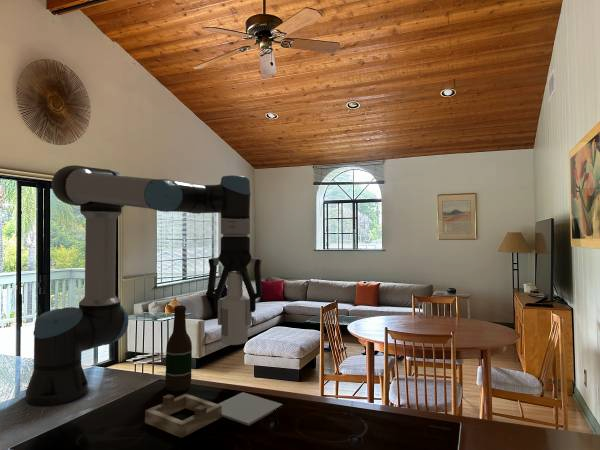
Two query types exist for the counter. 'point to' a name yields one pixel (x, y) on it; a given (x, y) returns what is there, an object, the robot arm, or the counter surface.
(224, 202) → the robot arm
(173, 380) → the beer bottle
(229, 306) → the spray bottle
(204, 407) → the wooden square frame
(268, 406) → the mat
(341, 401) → the counter surface
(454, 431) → the counter surface
